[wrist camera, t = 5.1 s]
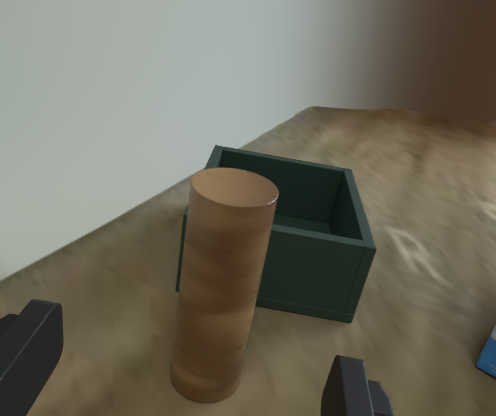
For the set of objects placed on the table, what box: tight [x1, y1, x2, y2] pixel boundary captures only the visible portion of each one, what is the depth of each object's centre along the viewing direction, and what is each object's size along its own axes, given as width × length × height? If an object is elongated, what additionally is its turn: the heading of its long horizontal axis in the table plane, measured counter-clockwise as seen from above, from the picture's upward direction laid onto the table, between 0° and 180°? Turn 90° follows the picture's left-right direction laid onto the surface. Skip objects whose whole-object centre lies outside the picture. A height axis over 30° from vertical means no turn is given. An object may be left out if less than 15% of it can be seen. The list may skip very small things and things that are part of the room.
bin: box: [176, 145, 376, 323], centre depth 37 cm, size 13×14×6 cm
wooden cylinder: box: [170, 168, 279, 403], centre depth 23 cm, size 4×4×12 cm
